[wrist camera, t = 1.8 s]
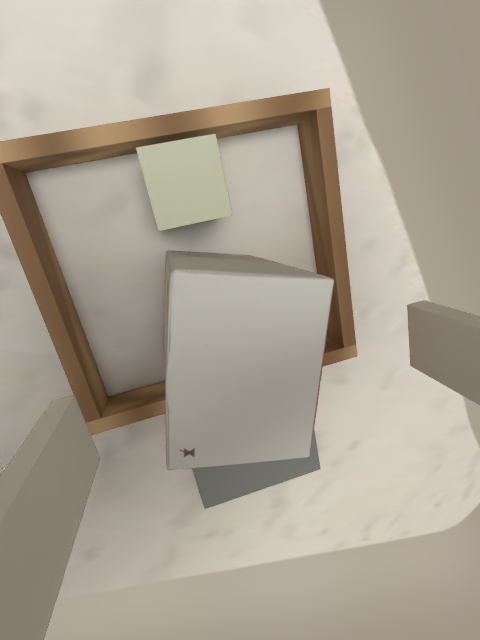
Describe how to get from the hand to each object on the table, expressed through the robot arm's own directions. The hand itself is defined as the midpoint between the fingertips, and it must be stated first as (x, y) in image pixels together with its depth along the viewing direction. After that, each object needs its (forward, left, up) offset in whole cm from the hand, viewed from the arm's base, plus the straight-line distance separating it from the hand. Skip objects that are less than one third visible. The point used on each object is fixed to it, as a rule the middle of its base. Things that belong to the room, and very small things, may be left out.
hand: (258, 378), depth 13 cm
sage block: (0, +8, -13) cm, 15 cm away
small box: (0, 0, -13) cm, 13 cm away
